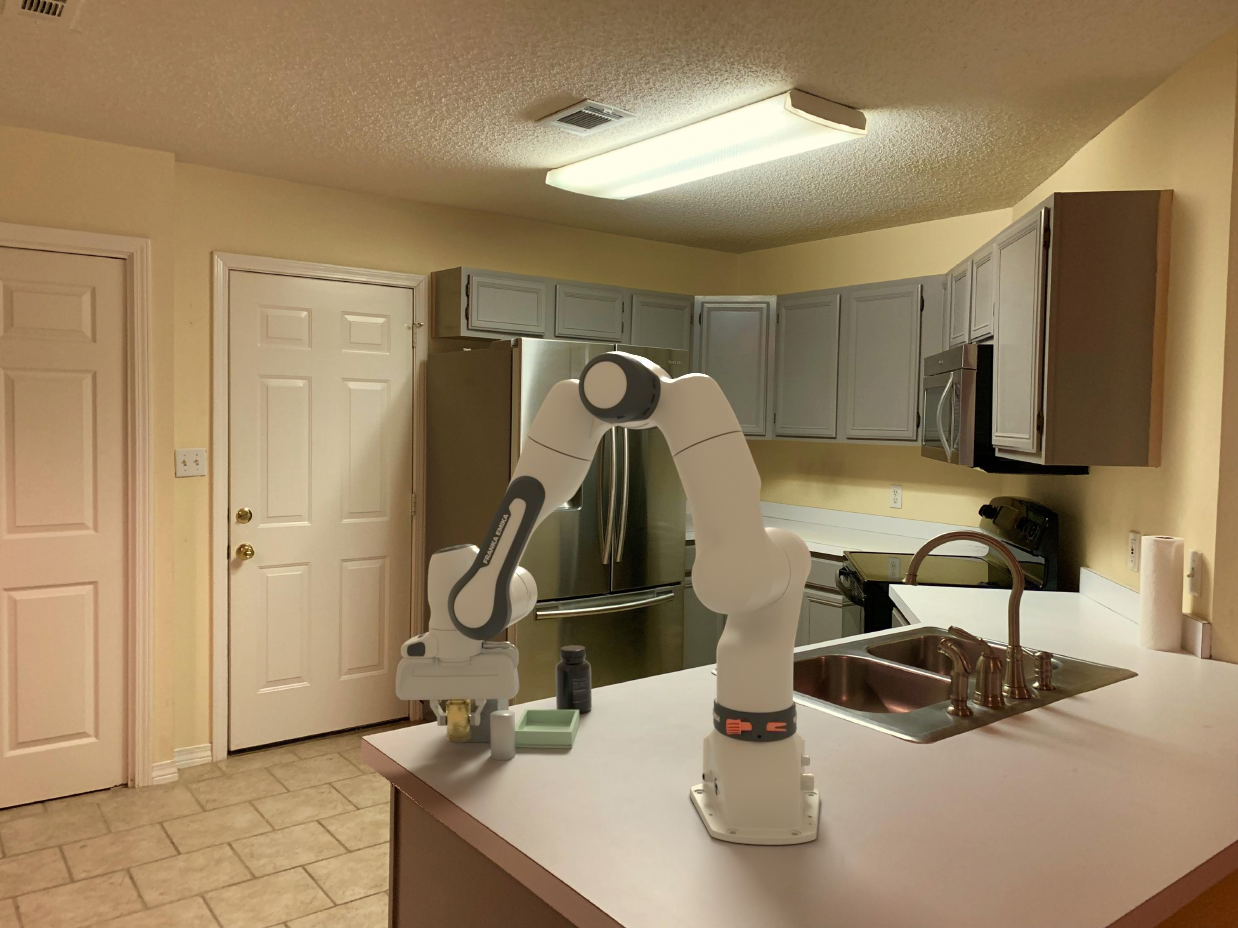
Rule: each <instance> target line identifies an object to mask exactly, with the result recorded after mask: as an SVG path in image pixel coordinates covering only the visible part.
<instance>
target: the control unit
mask: <svg viewBox="0 0 1238 928" xmlns="http://www.w3.org/2000/svg"><path fill="white" fill-rule="evenodd" d="M468 700H470V702H471V713H474V712H476V711H477V709H478V707H479V705H478V706H476V702H475V699H468ZM509 701H510V699H486V704H485V705H484V707H483V709H482V711H481V713H480V724H479V726H471V736H472V737H471V739H469V740H466V741H462V742H461V743H482V744H483V743H485V744H487V743H489V744H491V727H490V714H491V713H492V712H495V711H500V710H509ZM509 711H510V710H509Z"/></svg>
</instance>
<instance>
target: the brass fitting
mask: <svg viewBox="0 0 1238 928" xmlns="http://www.w3.org/2000/svg"><path fill="white" fill-rule="evenodd" d="M445 713H446V717H447V726H446V740H447V741H448V742H451V743H463V742H462V741H466V740H469V739H471V737H472V736H471V726H470V724H469V722H470V720H469V715H470V714H471V702H470V700H468V699H455V700H448V701H447V700H446V702H445Z"/></svg>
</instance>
